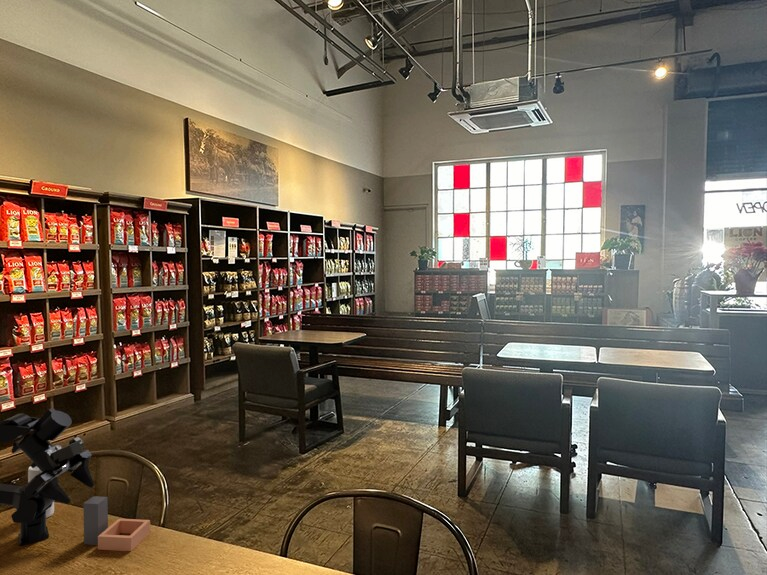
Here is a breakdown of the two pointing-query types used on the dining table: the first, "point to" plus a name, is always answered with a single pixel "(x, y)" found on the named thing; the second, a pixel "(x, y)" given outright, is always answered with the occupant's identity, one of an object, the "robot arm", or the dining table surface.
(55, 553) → the dining table surface
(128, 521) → the socket
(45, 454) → the robot arm
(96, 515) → the plug
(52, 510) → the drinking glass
